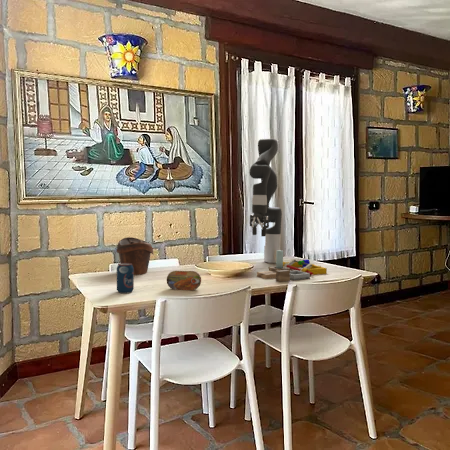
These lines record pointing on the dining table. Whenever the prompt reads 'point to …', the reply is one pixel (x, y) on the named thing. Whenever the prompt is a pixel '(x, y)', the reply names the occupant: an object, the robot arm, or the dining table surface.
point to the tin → (183, 280)
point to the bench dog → (282, 275)
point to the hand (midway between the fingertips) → (258, 235)
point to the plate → (266, 274)
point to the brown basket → (135, 253)
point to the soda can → (125, 278)
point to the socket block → (278, 269)
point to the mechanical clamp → (305, 267)
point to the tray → (299, 275)
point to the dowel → (279, 259)
